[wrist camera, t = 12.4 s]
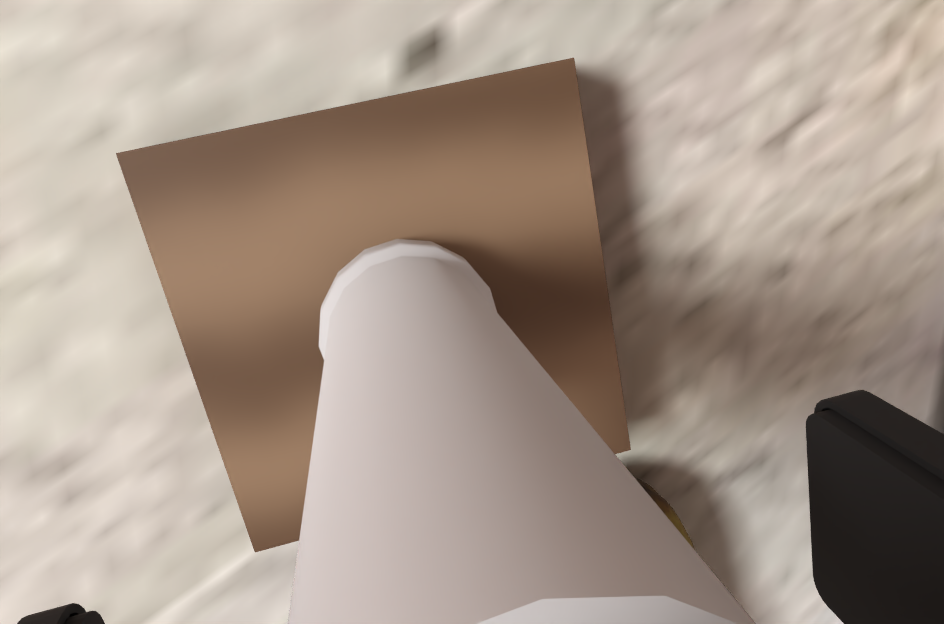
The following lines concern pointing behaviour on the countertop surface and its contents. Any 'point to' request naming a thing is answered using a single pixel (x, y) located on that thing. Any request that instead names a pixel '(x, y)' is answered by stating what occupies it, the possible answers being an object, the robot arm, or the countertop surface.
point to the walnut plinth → (363, 226)
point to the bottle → (469, 473)
